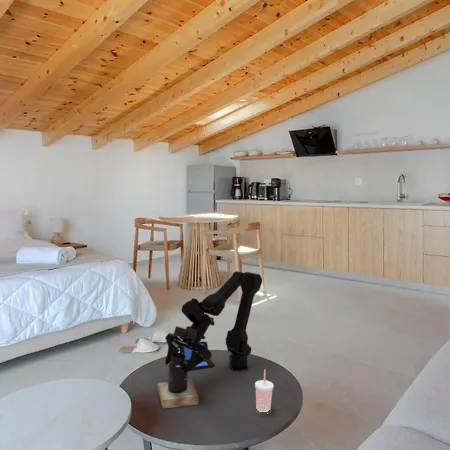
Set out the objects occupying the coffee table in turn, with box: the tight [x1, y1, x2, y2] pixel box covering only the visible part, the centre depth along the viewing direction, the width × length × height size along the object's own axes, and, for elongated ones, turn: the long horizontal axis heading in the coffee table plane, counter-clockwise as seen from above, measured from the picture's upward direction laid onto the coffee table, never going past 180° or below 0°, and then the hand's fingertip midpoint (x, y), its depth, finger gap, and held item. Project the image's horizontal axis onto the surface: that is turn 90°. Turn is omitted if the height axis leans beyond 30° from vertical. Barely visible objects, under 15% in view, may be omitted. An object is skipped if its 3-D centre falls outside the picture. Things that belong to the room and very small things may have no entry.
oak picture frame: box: [157, 379, 199, 410], centre depth 143 cm, size 12×12×3 cm
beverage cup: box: [254, 369, 274, 412], centre depth 136 cm, size 6×6×14 cm
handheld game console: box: [179, 341, 215, 372], centre depth 171 cm, size 12×11×7 cm
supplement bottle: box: [167, 352, 189, 393], centre depth 143 cm, size 7×7×12 cm
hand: (175, 368), depth 141 cm, fingers open, 9 cm apart
